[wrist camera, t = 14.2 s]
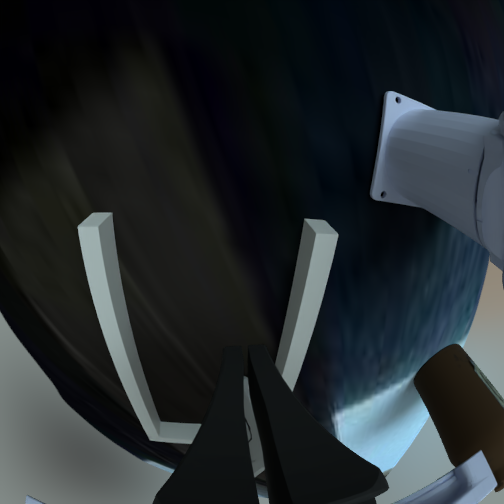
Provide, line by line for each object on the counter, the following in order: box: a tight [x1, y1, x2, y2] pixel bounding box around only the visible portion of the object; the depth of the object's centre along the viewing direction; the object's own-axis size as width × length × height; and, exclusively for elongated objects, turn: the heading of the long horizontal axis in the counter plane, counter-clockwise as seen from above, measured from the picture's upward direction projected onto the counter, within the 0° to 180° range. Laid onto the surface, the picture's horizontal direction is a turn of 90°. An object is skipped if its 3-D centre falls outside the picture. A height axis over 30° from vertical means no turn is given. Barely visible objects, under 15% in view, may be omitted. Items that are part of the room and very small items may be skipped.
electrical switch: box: [244, 376, 265, 477], centre depth 23 cm, size 9×5×9 cm, turn 162°
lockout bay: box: [78, 213, 338, 444], centre depth 21 cm, size 16×29×6 cm, turn 175°
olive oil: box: [414, 344, 504, 492], centre depth 20 cm, size 11×11×25 cm
